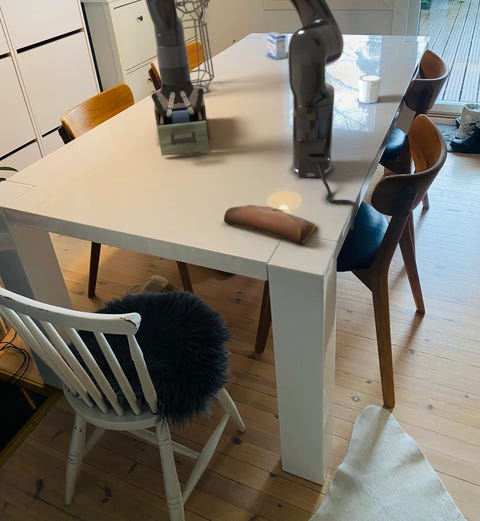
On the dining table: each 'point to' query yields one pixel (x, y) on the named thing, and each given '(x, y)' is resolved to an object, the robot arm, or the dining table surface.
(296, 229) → the sunglasses case
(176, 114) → the block
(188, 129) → the drawer
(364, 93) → the white short cylinder
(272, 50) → the medicine box
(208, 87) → the geometric lantern
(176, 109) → the cabinet
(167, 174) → the dining table surface
